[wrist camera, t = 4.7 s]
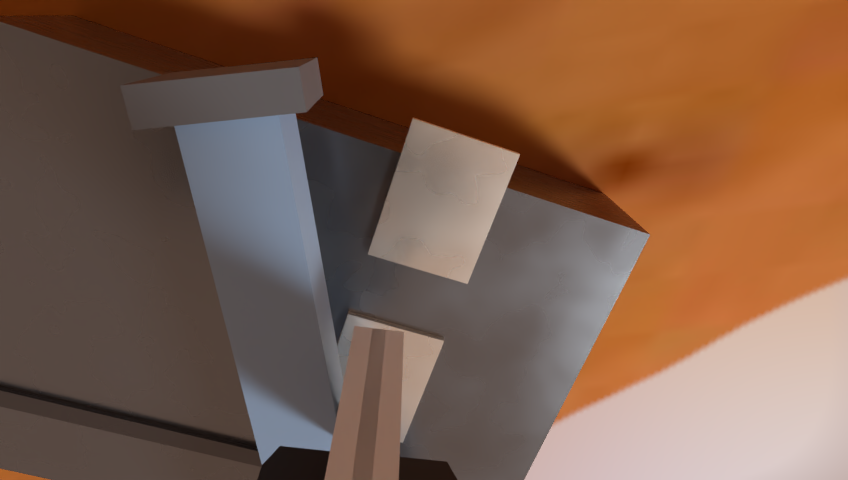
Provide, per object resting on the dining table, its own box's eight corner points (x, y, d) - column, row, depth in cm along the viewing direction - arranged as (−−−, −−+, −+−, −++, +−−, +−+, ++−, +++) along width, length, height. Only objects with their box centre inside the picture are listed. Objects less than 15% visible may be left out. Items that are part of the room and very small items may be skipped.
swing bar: (424, 615, 19) (427, 695, 17) (292, 628, 19) (277, 710, 17) (345, 54, 12) (332, 63, 10) (142, 75, 12) (86, 89, 10)
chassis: (28, 394, 22) (-196, 622, 14) (76, -19, 17) (-238, -50, 9) (461, 496, 25) (491, 739, 17) (616, 167, 20) (774, 279, 11)
